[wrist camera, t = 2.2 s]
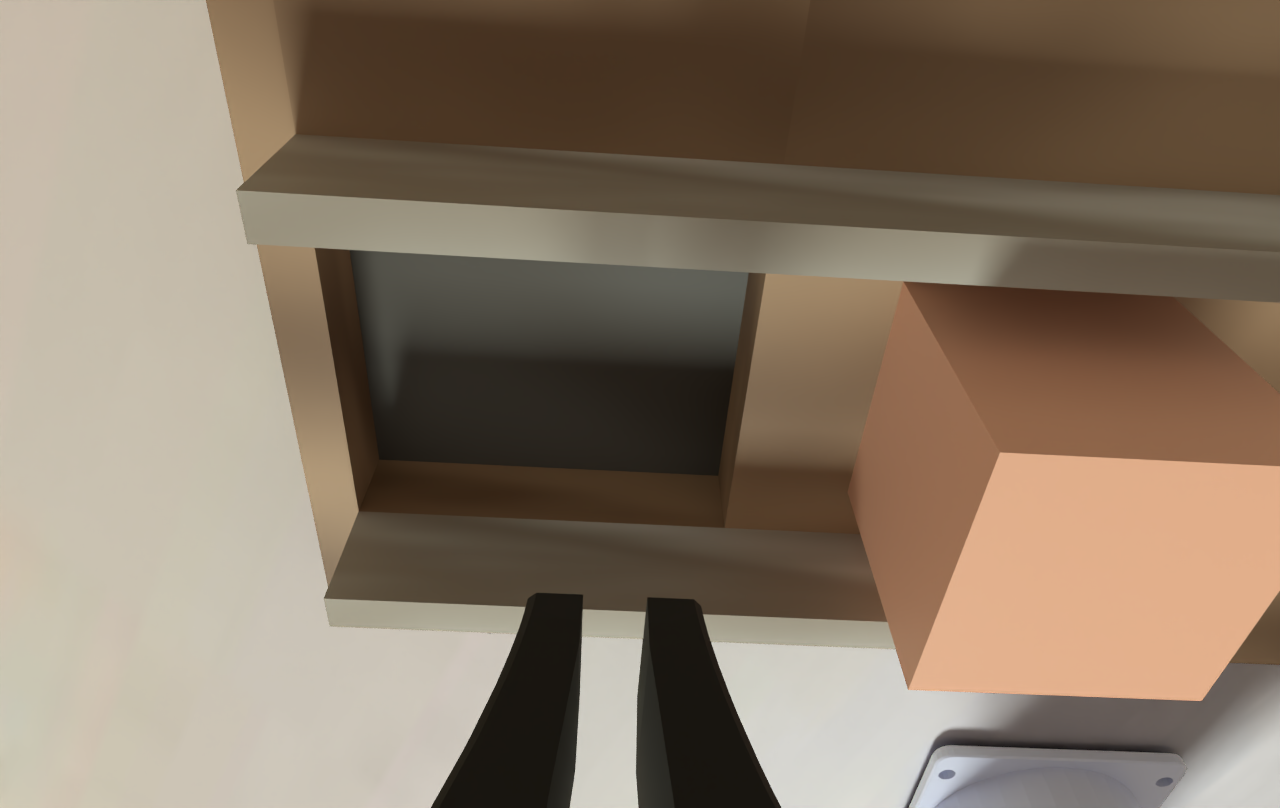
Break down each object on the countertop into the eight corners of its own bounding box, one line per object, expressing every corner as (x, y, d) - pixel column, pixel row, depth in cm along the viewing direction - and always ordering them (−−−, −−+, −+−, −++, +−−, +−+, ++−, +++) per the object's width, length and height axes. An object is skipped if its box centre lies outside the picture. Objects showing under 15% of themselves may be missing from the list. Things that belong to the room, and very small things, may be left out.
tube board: (1461, 613, 23) (1615, 764, 20) (358, 566, 22) (303, 716, 19) (1986, 31, 15) (2433, 103, 11) (242, -94, 14) (97, -59, 10)
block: (1076, 502, 18) (1201, 700, 14) (847, 491, 18) (909, 689, 14) (1172, 296, 16) (1364, 470, 11) (903, 281, 15) (999, 453, 11)
